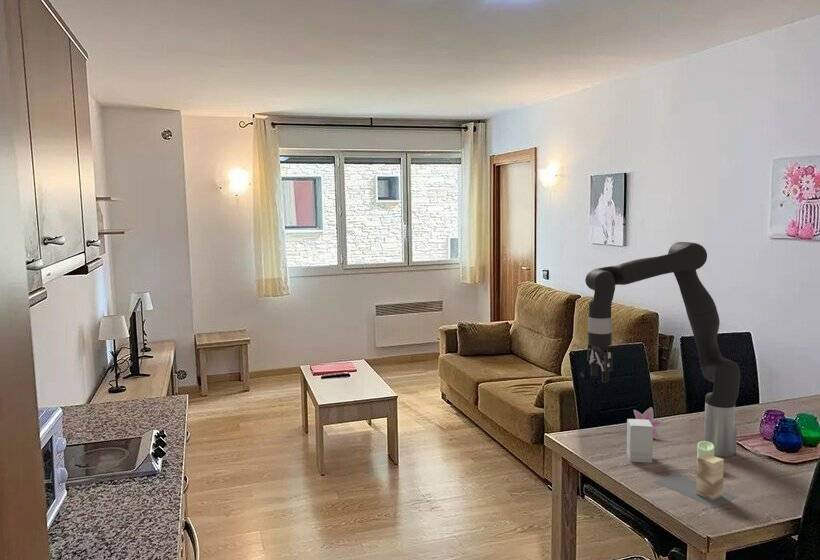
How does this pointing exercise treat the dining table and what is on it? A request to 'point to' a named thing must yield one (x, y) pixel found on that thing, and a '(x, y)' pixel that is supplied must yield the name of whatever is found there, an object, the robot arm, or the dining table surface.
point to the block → (710, 477)
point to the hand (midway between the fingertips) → (599, 378)
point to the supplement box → (639, 440)
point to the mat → (690, 489)
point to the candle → (705, 448)
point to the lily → (649, 416)
